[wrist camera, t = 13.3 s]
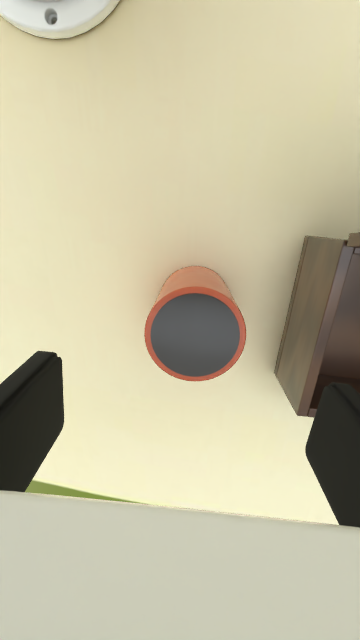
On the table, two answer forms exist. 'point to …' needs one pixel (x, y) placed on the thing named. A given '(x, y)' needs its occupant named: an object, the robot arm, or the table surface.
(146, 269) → the table surface
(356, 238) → the lid
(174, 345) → the tin
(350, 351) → the box
